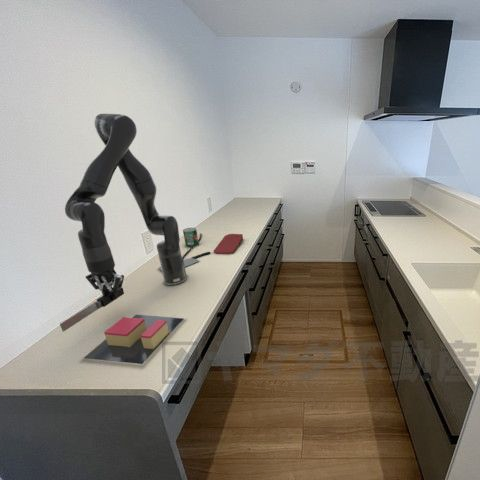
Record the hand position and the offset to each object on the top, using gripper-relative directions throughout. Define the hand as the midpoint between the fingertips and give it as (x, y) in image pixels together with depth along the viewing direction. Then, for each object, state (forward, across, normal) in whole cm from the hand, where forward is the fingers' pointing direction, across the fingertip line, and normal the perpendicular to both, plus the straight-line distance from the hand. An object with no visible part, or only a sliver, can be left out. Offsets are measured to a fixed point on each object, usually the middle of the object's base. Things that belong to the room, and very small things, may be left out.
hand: (111, 298), depth 98 cm
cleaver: (+9, +1, -50) cm, 51 cm away
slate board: (+9, -16, +9) cm, 20 cm away
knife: (0, 0, +7) cm, 7 cm away
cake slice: (+8, -24, +10) cm, 27 cm away
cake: (+8, -13, +10) cm, 18 cm away
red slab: (+9, -12, -76) cm, 78 cm away
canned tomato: (+9, +13, -74) cm, 76 cm away
